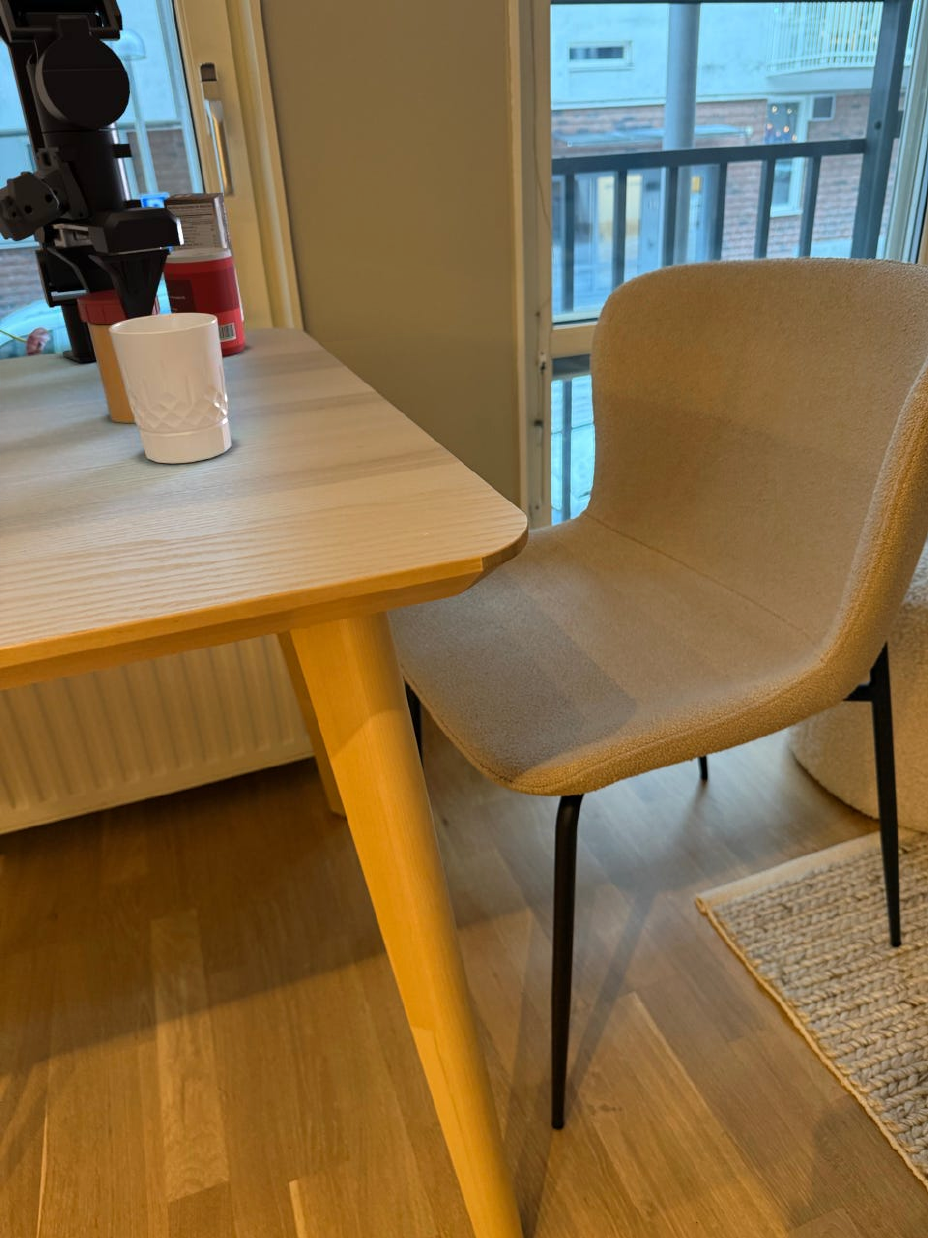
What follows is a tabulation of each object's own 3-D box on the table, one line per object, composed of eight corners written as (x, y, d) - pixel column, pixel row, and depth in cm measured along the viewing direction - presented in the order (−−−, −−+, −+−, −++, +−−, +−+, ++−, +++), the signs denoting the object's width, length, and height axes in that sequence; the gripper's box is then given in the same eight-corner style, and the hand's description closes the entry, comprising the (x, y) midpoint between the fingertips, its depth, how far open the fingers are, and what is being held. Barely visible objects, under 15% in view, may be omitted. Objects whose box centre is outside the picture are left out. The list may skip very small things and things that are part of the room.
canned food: (255, 343, 109) (239, 246, 104) (233, 358, 102) (216, 255, 97) (194, 345, 110) (176, 248, 104) (169, 360, 103) (148, 257, 97)
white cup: (257, 438, 74) (236, 313, 69) (203, 470, 68) (176, 333, 63) (176, 433, 77) (151, 311, 72) (117, 463, 70) (85, 331, 65)
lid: (71, 318, 79) (65, 296, 78) (142, 306, 83) (138, 285, 82) (98, 326, 75) (93, 303, 74) (172, 314, 78) (168, 292, 77)
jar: (101, 414, 83) (72, 301, 78) (160, 401, 86) (136, 291, 81) (125, 426, 79) (97, 307, 74) (186, 412, 82) (163, 297, 78)
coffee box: (197, 324, 122) (173, 193, 114) (245, 321, 123) (224, 190, 115) (187, 337, 114) (160, 198, 107) (238, 333, 115) (215, 195, 107)
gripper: (-58, 139, 74) (-1, 334, 81) (11, 132, 61) (70, 364, 68) (77, 133, 80) (118, 315, 87) (165, 125, 67) (204, 339, 75)
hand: (125, 332), depth 79 cm, fingers closed on lid, 6 cm apart
